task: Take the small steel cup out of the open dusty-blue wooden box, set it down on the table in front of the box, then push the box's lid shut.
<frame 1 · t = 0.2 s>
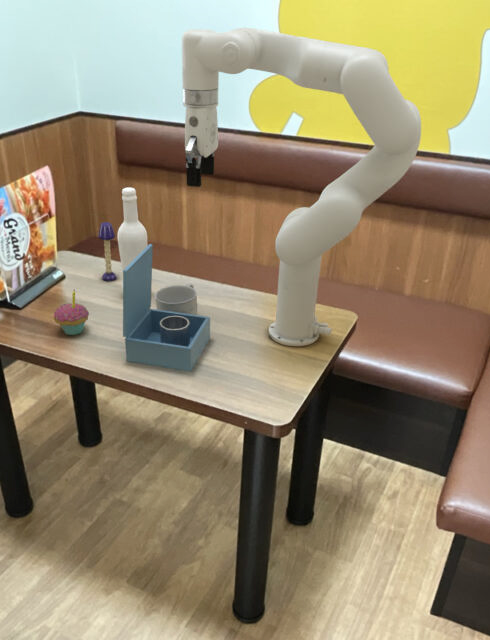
hand: (200, 179, 137), 36 cm above the table, tool pointing down, fingers open, 9 cm apart
bottle: (136, 296, 171), on the table
teacup: (180, 319, 160), on the table
toy lamp: (110, 278, 181), on the table
lid: (138, 290, 138), point 15 cm above the table, hinge at 85.0°
cupcake: (73, 331, 154), on the table
box: (169, 352, 145), on the table
steel cup: (175, 350, 145), point 1 cm above the table, touching box
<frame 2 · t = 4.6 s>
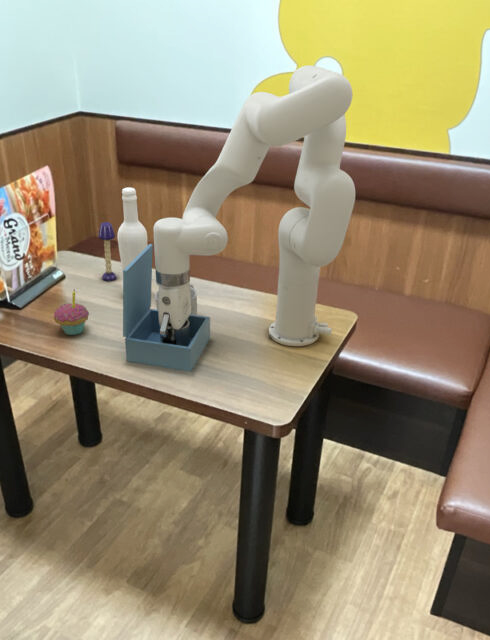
hand: (175, 344, 144), 2 cm above the table, tool pointing down, fingers closed on steel cup, 6 cm apart
steel cup: (175, 350, 145), point 1 cm above the table, touching box, gripper
everything else where it was.
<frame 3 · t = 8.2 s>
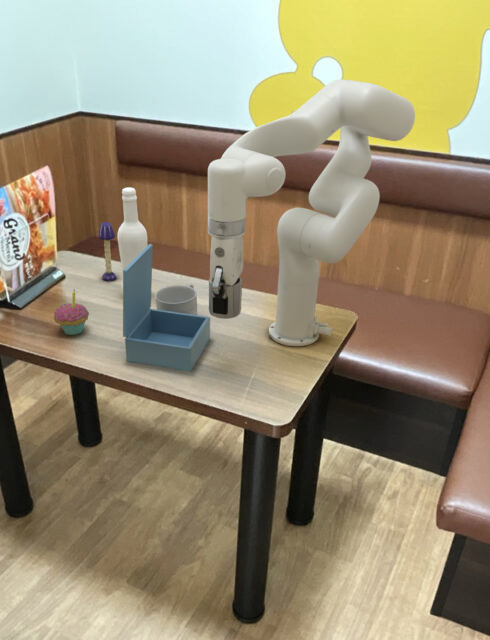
hand: (225, 304, 131), 16 cm above the table, tool pointing down, fingers closed on steel cup, 6 cm apart
steel cup: (224, 311, 132), point 15 cm above the table, touching gripper
everything else where it was.
when the fingers open (2 cm above the table, at t = 11.9 s): steel cup stays where it is, on the table.
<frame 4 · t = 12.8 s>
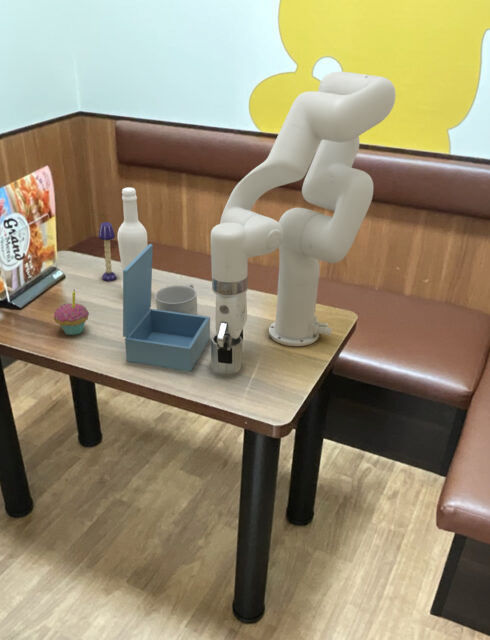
hand: (230, 350, 138), 4 cm above the table, tool pointing down, fingers open, 9 cm apart
steel cup: (225, 368, 139), on the table, touching gripper
everything else where it was.
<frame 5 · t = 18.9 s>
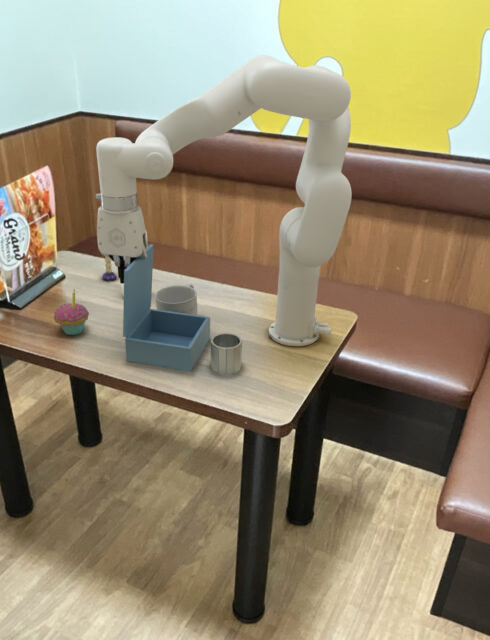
hand: (126, 281, 138), 17 cm above the table, tool pointing down, fingers closed
lid: (138, 290, 138), point 15 cm above the table, hinge at 84.1°, touching gripper
steel cup: (225, 368, 139), on the table
everything else where it was.
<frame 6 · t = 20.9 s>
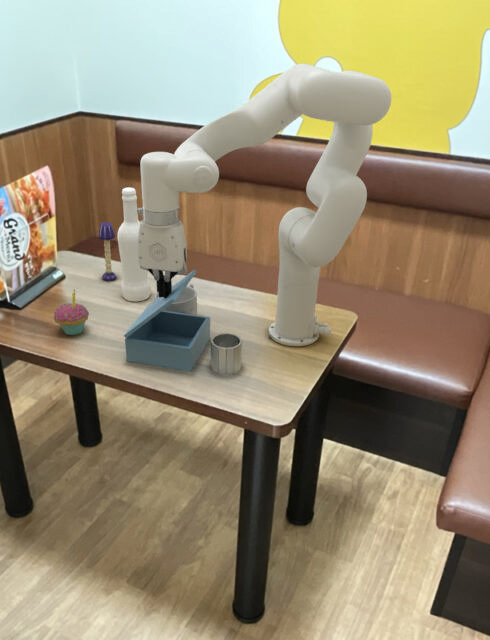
hand: (164, 295, 137), 15 cm above the table, tool pointing down, fingers closed
lid: (160, 303, 139), point 13 cm above the table, hinge at 42.3°, touching gripper
everything else where it was.
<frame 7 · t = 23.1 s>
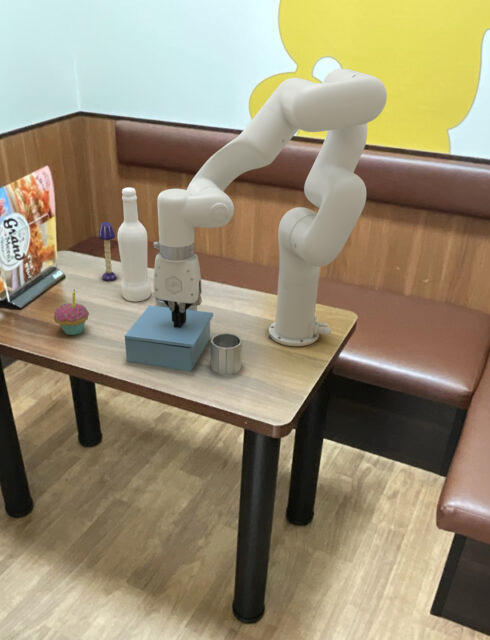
hand: (179, 324, 140), 8 cm above the table, tool pointing down, fingers closed
lid: (170, 325, 141), point 7 cm above the table, hinge at 1.3°, touching gripper
everything else where it was.
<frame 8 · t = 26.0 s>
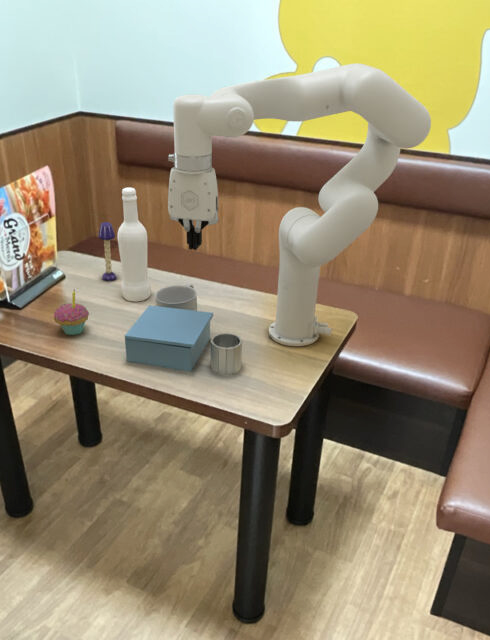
hand: (194, 247, 134), 25 cm above the table, tool pointing down, fingers closed
lid: (170, 325, 141), point 7 cm above the table, hinge at 1.3°
everything else where it was.
at the end: steel cup inside the target area (0.3 cm from its centre), on the table; steel cup tilted 0°; lid at +1° (first picture: +85°) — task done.
